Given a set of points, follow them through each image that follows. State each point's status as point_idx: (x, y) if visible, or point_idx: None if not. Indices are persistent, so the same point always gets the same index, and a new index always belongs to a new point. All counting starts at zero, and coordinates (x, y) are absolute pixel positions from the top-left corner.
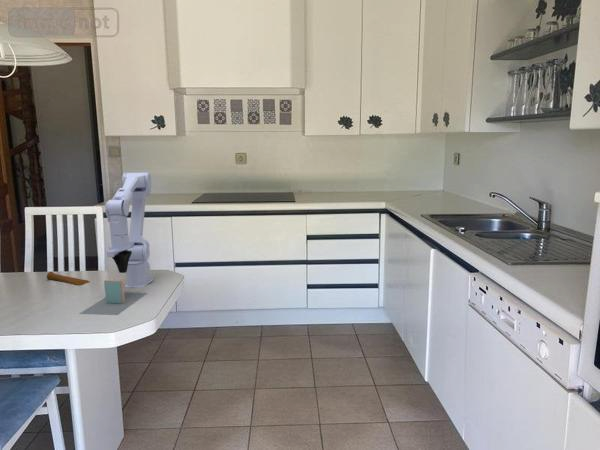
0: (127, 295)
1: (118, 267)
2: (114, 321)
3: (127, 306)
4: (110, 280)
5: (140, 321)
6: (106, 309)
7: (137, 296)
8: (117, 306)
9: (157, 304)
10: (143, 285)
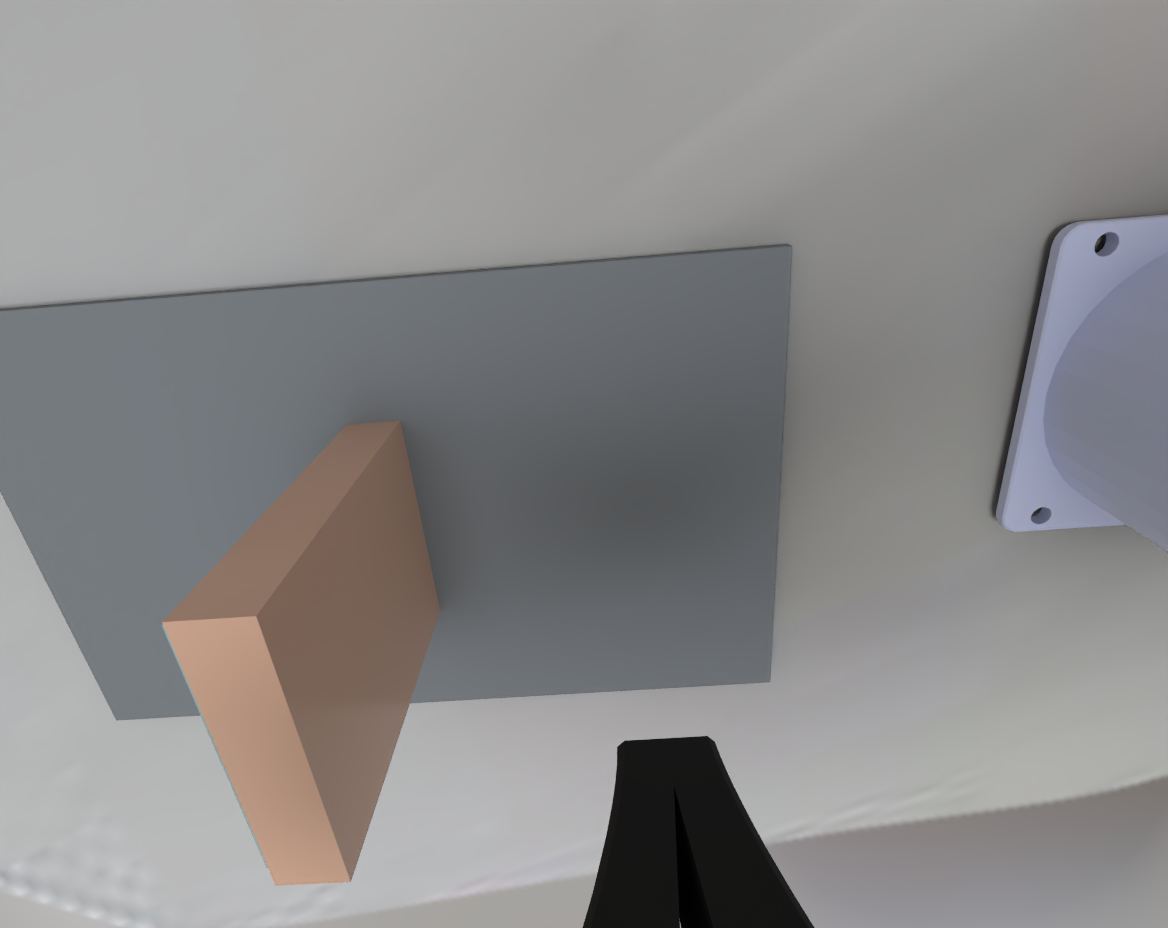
0: (662, 518)
1: (606, 878)
2: (22, 743)
3: None
4: (220, 734)
5: (129, 892)
6: (178, 550)
7: (640, 640)
8: None
9: (494, 854)
10: (1059, 520)
